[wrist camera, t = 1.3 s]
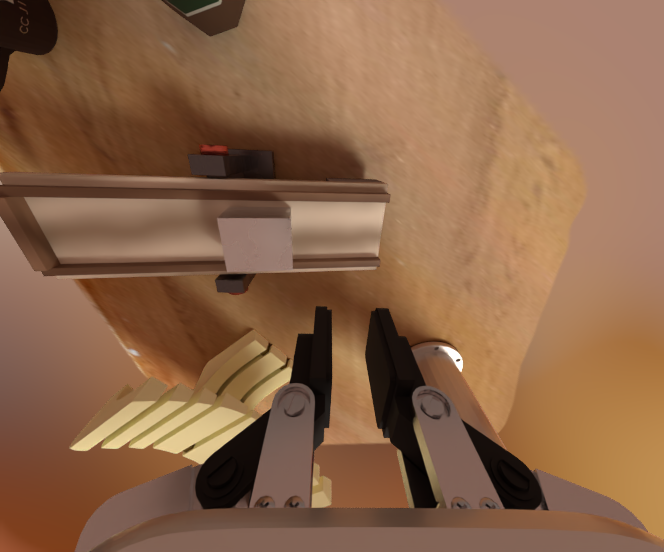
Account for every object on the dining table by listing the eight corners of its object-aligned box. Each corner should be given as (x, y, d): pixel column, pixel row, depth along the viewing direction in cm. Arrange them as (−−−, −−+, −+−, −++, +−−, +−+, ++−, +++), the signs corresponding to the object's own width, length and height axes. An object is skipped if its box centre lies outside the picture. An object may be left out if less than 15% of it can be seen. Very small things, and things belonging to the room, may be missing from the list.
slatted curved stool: (158, 344, 42) (57, 457, 27) (214, 297, 38) (132, 401, 22) (276, 419, 53) (254, 531, 38) (330, 391, 49) (331, 504, 33)
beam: (366, 256, 33) (379, 275, 28) (88, 262, 28) (44, 286, 23) (375, 179, 28) (393, 185, 23) (43, 169, 23) (-26, 174, 18)
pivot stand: (281, 266, 35) (266, 299, 27) (227, 264, 35) (197, 297, 27) (273, 148, 28) (250, 146, 20) (205, 145, 28) (155, 142, 20)
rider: (292, 252, 26) (292, 270, 22) (236, 253, 25) (227, 272, 22) (290, 207, 24) (290, 218, 20) (229, 206, 23) (216, 218, 19)
